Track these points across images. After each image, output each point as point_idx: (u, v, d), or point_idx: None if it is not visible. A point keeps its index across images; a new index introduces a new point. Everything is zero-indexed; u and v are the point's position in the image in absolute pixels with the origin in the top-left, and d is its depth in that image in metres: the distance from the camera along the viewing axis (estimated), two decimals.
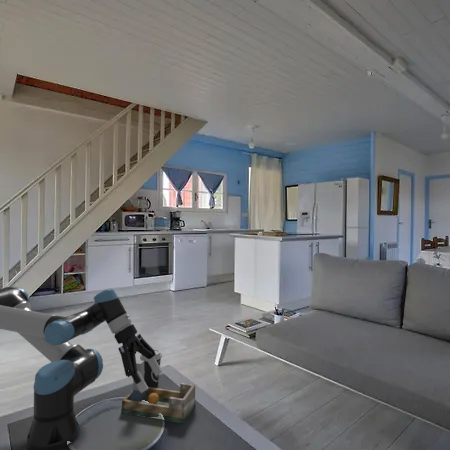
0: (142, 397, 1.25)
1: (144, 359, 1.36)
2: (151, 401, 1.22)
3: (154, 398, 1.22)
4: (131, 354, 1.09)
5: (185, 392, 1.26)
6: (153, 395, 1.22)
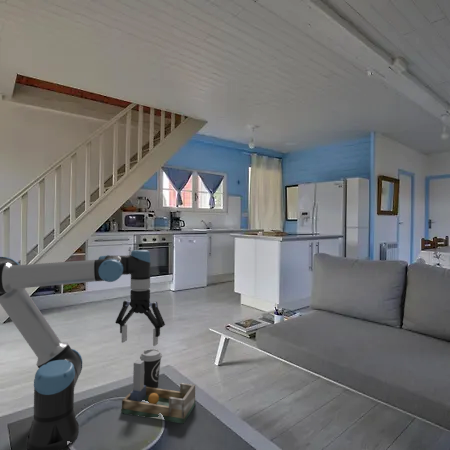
0: (142, 397, 1.25)
1: (144, 359, 1.36)
2: (151, 401, 1.22)
3: (154, 398, 1.22)
4: (150, 312, 1.25)
5: (185, 392, 1.26)
6: (153, 395, 1.22)
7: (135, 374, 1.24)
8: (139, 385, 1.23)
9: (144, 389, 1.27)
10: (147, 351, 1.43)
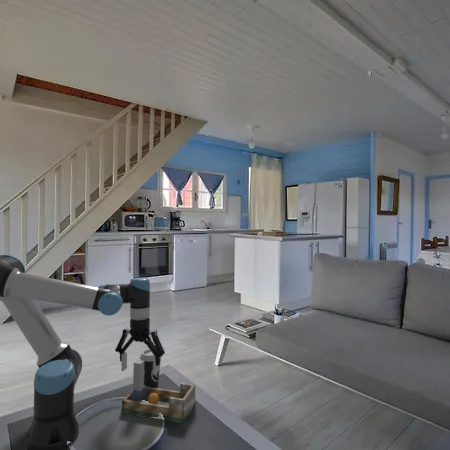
0: (142, 397, 1.25)
1: (144, 359, 1.36)
2: (151, 401, 1.22)
3: (154, 398, 1.22)
4: (150, 340, 1.25)
5: (185, 392, 1.26)
6: (153, 395, 1.22)
7: (135, 374, 1.24)
8: (139, 385, 1.23)
9: (144, 389, 1.27)
10: (147, 351, 1.43)
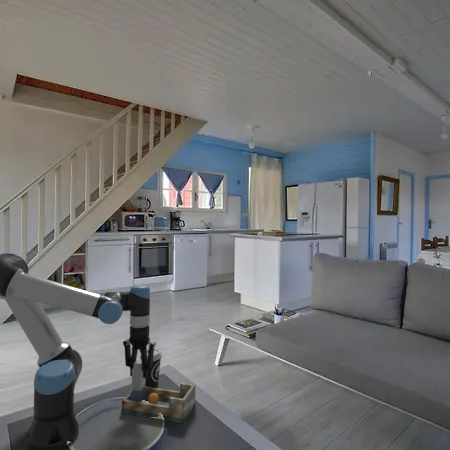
0: (142, 397, 1.25)
1: None
2: (151, 401, 1.22)
3: (154, 398, 1.22)
4: (145, 351, 1.25)
5: (185, 392, 1.26)
6: (153, 395, 1.22)
7: (135, 374, 1.24)
8: (139, 385, 1.23)
9: (144, 389, 1.27)
10: (147, 351, 1.43)
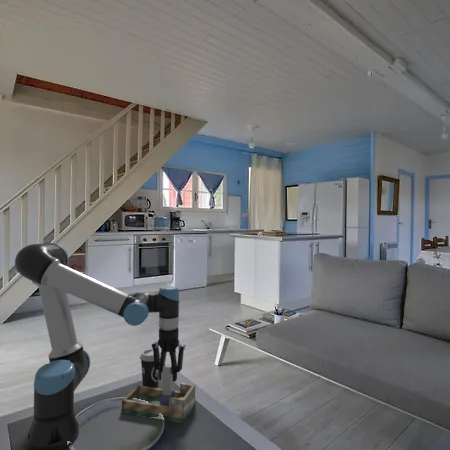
0: None
1: (144, 359, 1.36)
2: None
3: None
4: (174, 354, 1.22)
5: (185, 392, 1.26)
6: None
7: (164, 378, 1.21)
8: (169, 389, 1.20)
9: (173, 393, 1.24)
10: (147, 351, 1.43)
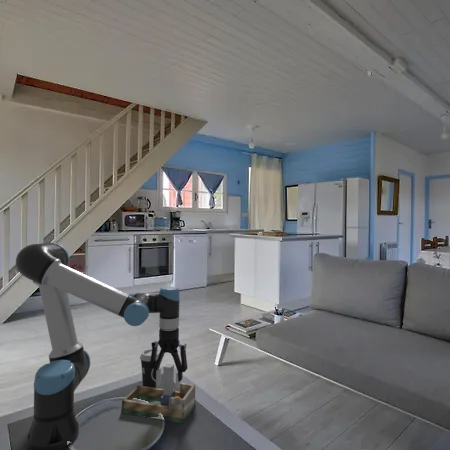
0: None
1: (144, 359, 1.36)
2: None
3: None
4: (177, 353, 1.22)
5: (185, 392, 1.26)
6: None
7: (165, 378, 1.21)
8: (169, 389, 1.20)
9: (173, 394, 1.24)
10: (147, 351, 1.43)
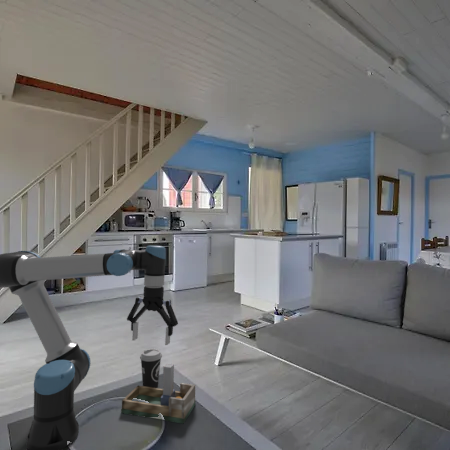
0: None
1: (144, 359, 1.36)
2: None
3: None
4: (163, 310, 1.21)
5: (185, 392, 1.26)
6: None
7: (165, 378, 1.21)
8: (169, 389, 1.20)
9: (173, 394, 1.24)
10: (147, 351, 1.43)
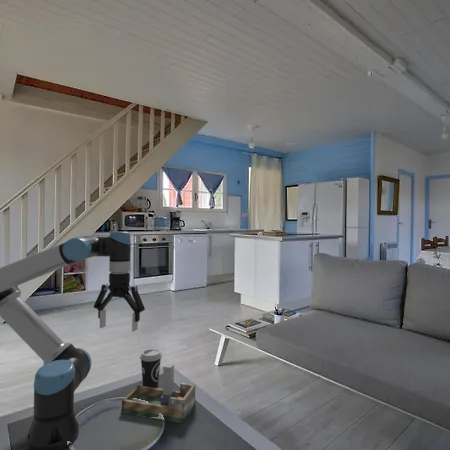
0: None
1: (144, 359, 1.36)
2: None
3: None
4: (130, 296, 1.19)
5: (185, 392, 1.26)
6: None
7: (165, 378, 1.21)
8: (169, 389, 1.20)
9: (173, 394, 1.24)
10: (147, 351, 1.43)
